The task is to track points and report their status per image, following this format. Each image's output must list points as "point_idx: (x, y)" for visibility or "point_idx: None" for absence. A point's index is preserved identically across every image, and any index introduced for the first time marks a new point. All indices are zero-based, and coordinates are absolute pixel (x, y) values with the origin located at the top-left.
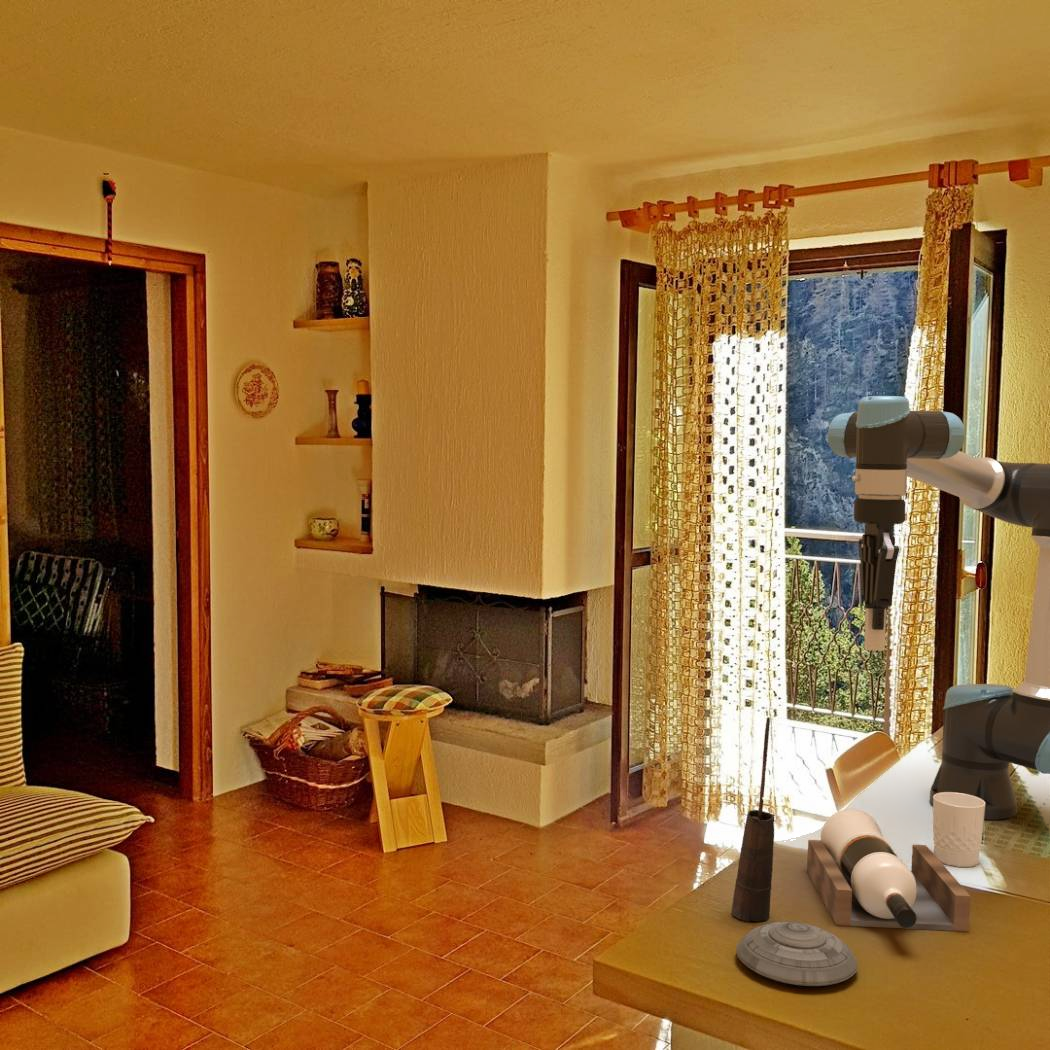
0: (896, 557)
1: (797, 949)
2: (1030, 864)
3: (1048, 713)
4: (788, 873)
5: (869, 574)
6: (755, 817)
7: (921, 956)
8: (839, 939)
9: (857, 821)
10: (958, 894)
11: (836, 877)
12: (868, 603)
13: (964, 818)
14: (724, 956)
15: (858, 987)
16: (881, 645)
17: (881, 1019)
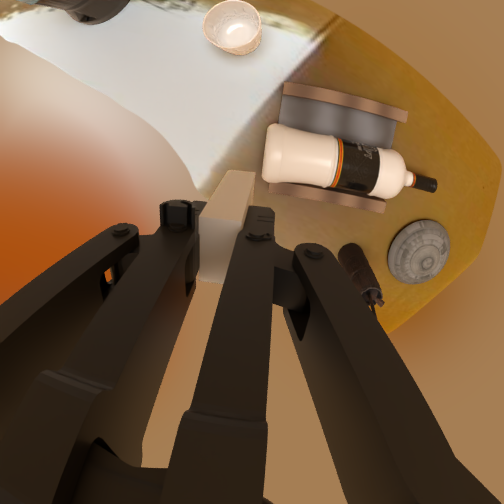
0: (471, 480)
1: (438, 266)
2: None
3: None
4: (273, 200)
5: (159, 383)
6: (382, 305)
7: (425, 168)
8: (429, 233)
9: (300, 163)
10: (404, 119)
11: (360, 203)
12: (195, 281)
13: (260, 30)
14: (398, 284)
15: (447, 227)
16: (253, 185)
17: (472, 231)
